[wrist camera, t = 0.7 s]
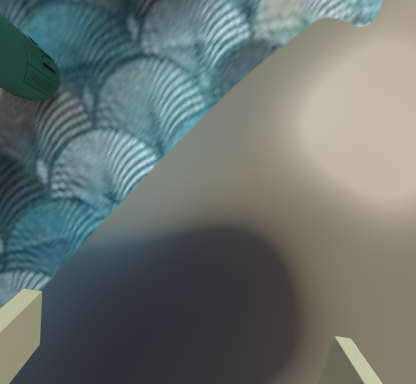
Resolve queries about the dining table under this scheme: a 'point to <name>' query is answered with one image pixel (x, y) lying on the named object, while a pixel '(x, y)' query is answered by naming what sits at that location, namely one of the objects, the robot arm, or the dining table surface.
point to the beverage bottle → (25, 65)
